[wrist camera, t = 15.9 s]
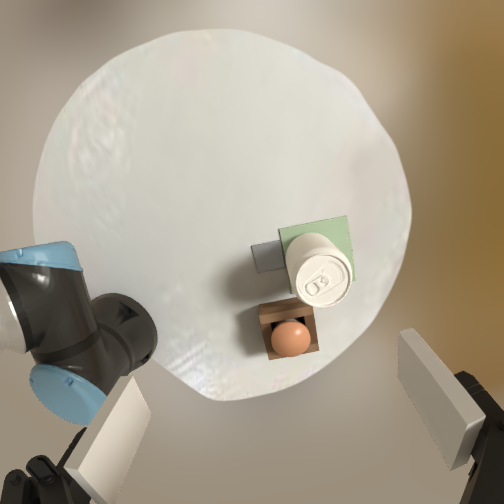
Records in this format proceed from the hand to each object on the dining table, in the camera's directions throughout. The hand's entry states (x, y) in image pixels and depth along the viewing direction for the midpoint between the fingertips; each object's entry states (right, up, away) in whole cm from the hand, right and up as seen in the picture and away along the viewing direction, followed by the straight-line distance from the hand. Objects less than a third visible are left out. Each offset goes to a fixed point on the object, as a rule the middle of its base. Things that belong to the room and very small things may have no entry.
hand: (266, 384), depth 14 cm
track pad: (+2, +5, +36) cm, 37 cm away
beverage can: (+9, +5, +36) cm, 37 cm away
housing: (+5, -6, +39) cm, 40 cm away
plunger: (+5, -6, +38) cm, 39 cm away
